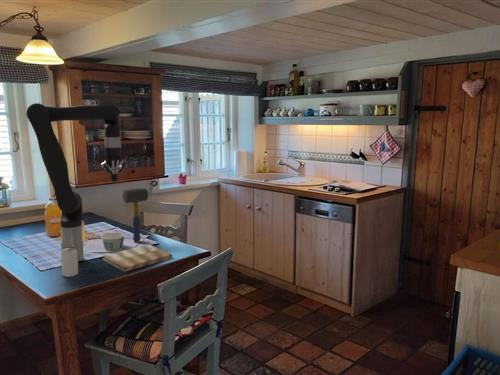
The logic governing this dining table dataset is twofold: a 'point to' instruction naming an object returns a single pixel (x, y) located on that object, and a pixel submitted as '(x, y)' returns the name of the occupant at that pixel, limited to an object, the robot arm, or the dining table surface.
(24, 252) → the dining table surface
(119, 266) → the oak board
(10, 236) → the dining table surface
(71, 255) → the can
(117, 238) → the food container
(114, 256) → the cream ridged flat piece
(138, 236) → the rubber mallet
